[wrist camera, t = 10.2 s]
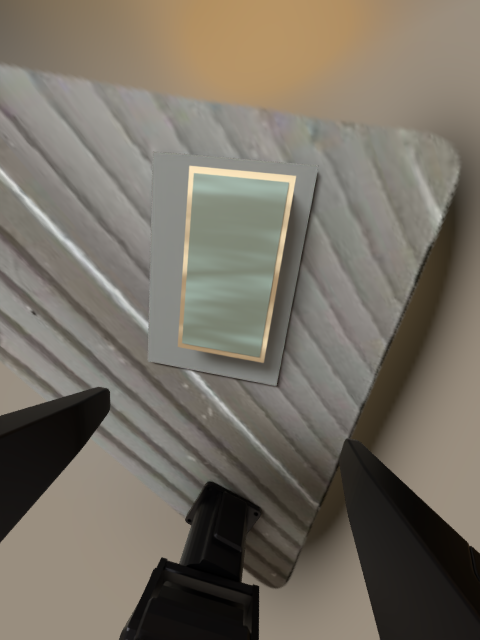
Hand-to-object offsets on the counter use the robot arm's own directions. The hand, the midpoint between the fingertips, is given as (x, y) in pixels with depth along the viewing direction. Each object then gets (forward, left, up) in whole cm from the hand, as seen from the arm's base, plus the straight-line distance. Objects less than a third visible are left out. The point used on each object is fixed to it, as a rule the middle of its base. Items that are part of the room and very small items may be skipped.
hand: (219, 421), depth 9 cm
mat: (+3, +4, -12) cm, 13 cm away
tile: (-2, +1, -10) cm, 10 cm away
